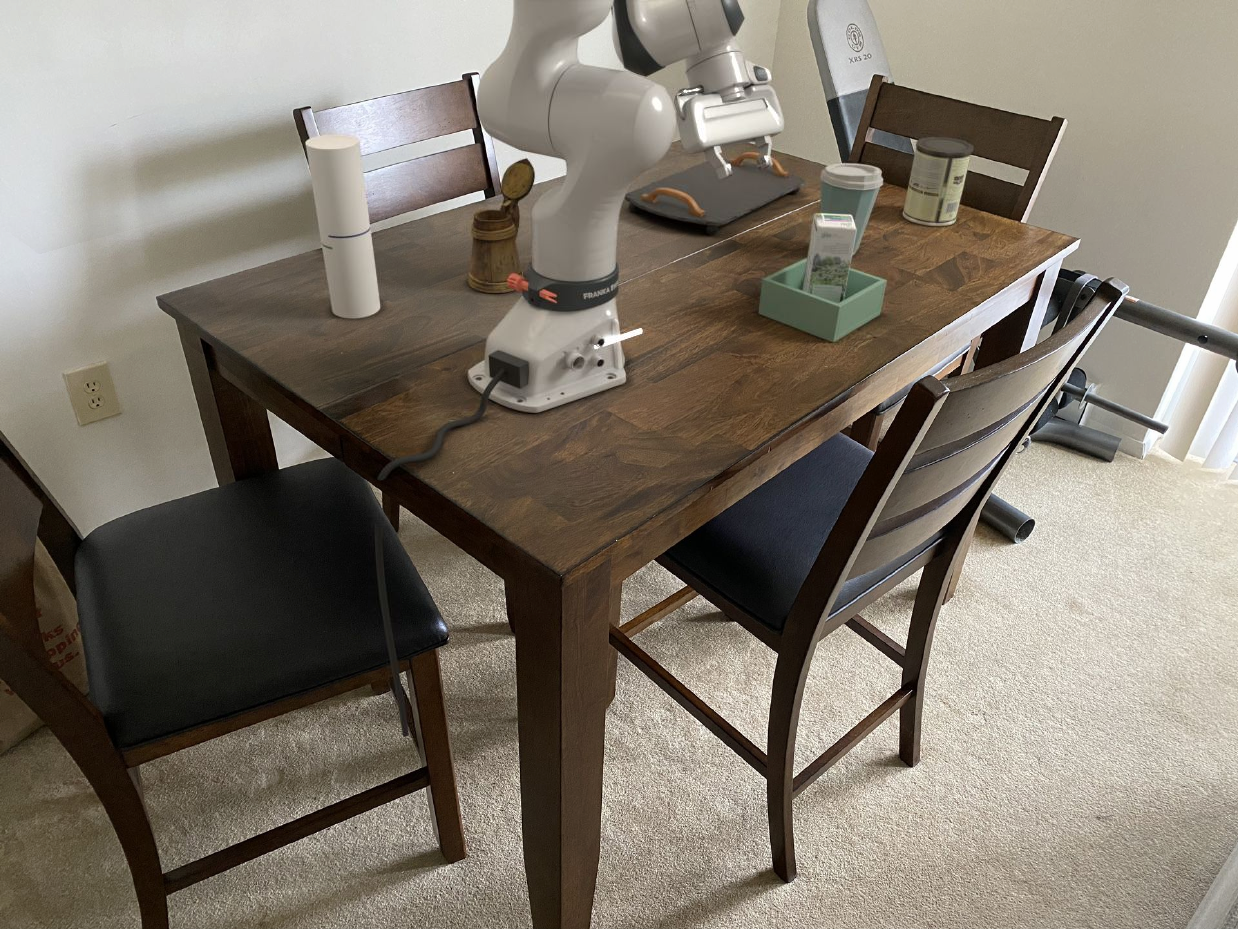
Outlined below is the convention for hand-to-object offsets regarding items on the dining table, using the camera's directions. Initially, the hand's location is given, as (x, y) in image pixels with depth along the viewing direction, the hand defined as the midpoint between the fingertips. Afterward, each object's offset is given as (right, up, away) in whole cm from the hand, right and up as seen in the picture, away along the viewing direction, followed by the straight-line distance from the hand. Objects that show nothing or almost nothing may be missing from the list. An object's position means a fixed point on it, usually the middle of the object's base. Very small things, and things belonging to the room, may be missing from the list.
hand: (746, 172), depth 144 cm
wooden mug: (-38, -14, +10) cm, 42 cm away
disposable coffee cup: (+20, -7, +24) cm, 32 cm away
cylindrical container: (-60, -21, -1) cm, 63 cm away
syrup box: (+12, -21, +2) cm, 24 cm away
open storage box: (+12, -21, +2) cm, 24 cm away
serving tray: (0, +8, +43) cm, 44 cm away
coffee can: (+41, +3, +40) cm, 57 cm away
